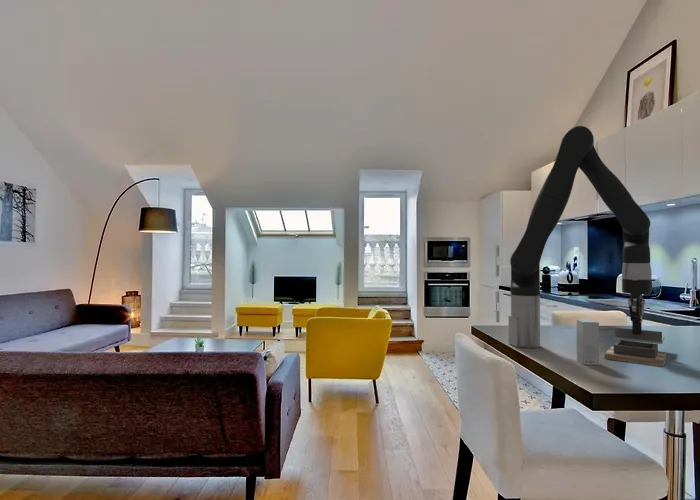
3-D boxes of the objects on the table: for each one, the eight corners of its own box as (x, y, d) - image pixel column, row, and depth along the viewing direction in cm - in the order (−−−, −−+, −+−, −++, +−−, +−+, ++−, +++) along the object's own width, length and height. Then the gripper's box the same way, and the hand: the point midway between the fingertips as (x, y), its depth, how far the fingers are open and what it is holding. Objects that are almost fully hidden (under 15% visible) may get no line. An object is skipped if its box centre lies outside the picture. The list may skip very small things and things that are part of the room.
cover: (661, 344, 126) (661, 332, 126) (615, 339, 134) (614, 327, 134) (664, 338, 135) (664, 327, 135) (620, 333, 143) (620, 323, 143)
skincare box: (599, 365, 117) (599, 322, 117) (583, 364, 118) (582, 322, 118) (592, 360, 123) (591, 319, 123) (576, 359, 124) (575, 318, 124)
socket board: (663, 366, 116) (663, 351, 116) (604, 358, 125) (604, 345, 125) (666, 357, 127) (666, 343, 127) (612, 350, 136) (612, 338, 136)
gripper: (625, 276, 136) (625, 330, 136) (618, 278, 126) (619, 336, 126) (653, 277, 132) (654, 333, 131) (649, 279, 122) (649, 339, 121)
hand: (637, 334), depth 129 cm, fingers closed
